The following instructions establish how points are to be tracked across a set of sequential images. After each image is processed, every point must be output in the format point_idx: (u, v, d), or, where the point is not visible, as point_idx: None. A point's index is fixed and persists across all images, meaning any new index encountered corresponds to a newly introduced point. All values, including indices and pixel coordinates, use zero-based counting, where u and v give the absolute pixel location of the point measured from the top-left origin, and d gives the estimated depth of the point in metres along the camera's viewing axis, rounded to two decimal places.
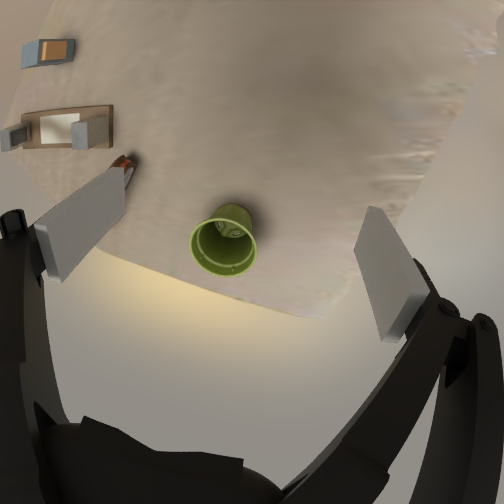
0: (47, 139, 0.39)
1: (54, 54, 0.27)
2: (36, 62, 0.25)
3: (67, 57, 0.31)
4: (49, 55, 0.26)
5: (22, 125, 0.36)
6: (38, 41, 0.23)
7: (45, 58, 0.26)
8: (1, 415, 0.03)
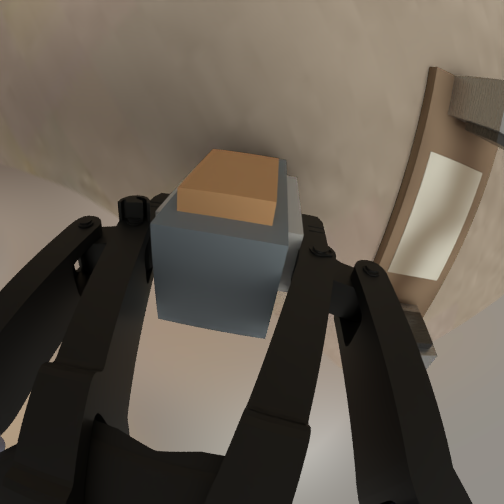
0: (439, 260, 0.20)
1: (256, 174, 0.10)
2: (276, 248, 0.08)
3: None
4: (259, 186, 0.09)
5: None
6: (159, 227, 0.08)
7: (270, 201, 0.09)
8: (52, 418, 0.03)
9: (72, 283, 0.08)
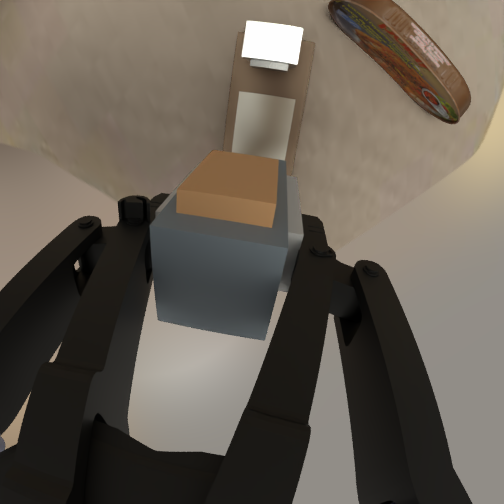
0: None
1: (256, 176, 0.10)
2: (276, 251, 0.08)
3: None
4: (259, 188, 0.09)
5: None
6: (159, 230, 0.08)
7: (269, 203, 0.09)
8: (52, 418, 0.03)
9: (72, 283, 0.08)
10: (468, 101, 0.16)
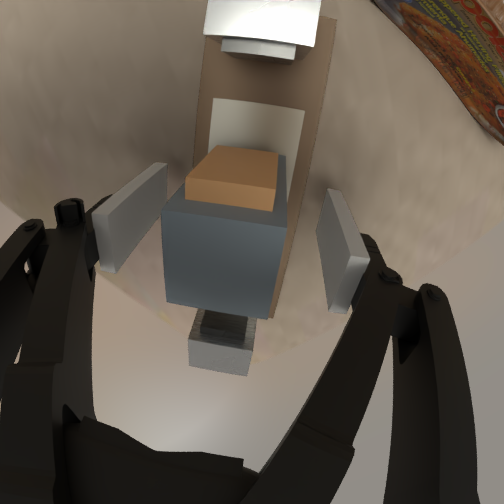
0: None
1: (257, 167, 0.11)
2: (276, 231, 0.09)
3: None
4: (260, 176, 0.10)
5: None
6: (169, 213, 0.09)
7: (270, 189, 0.09)
8: (25, 414, 0.03)
9: (25, 283, 0.08)
10: None
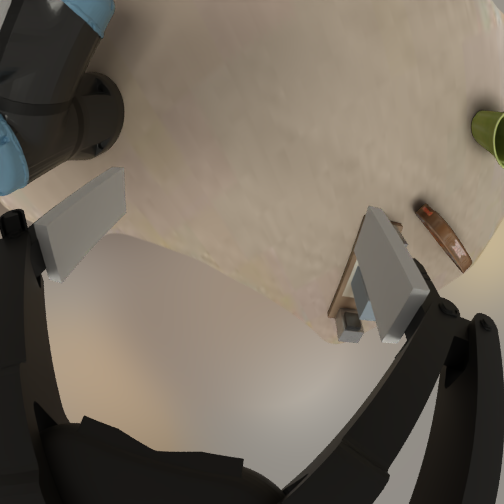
0: None
1: None
2: None
3: None
4: None
5: (342, 316, 0.52)
6: (369, 301, 0.41)
7: None
8: (1, 415, 0.03)
9: None
10: (469, 266, 0.39)
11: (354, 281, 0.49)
